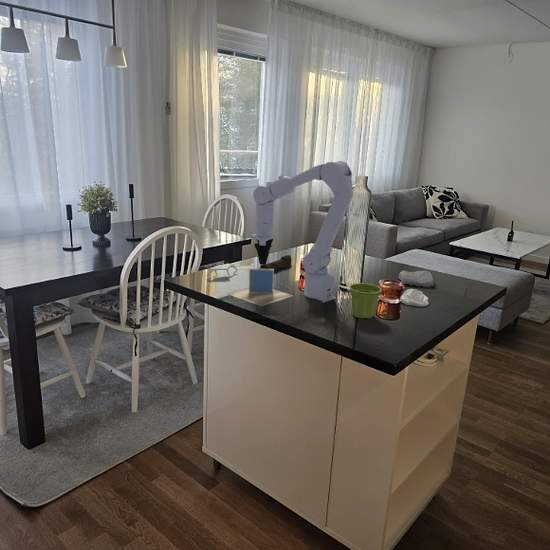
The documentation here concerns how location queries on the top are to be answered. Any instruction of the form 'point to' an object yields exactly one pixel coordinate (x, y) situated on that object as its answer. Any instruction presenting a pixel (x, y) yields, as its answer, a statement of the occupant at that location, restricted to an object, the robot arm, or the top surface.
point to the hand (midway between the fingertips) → (263, 261)
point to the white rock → (414, 298)
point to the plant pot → (364, 299)
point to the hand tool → (278, 263)
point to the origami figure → (223, 267)
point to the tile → (261, 280)
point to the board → (259, 296)
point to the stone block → (416, 278)
